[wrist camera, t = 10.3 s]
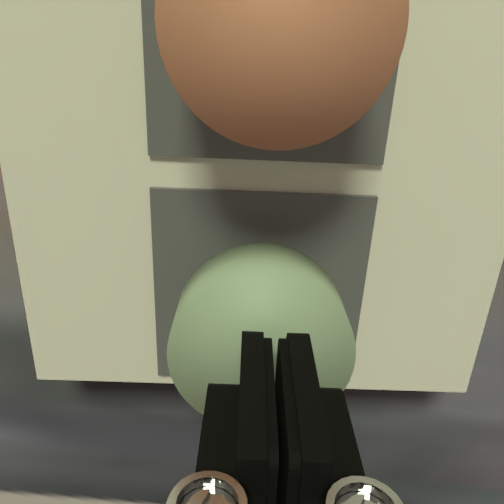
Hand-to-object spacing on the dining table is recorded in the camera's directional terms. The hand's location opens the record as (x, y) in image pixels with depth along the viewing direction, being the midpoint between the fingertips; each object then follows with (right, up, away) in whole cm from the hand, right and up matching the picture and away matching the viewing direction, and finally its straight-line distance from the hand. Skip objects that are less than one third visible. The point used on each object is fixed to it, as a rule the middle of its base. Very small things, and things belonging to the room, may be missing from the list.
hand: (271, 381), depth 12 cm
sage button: (0, +1, +3) cm, 3 cm away
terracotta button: (0, +9, -1) cm, 9 cm away
